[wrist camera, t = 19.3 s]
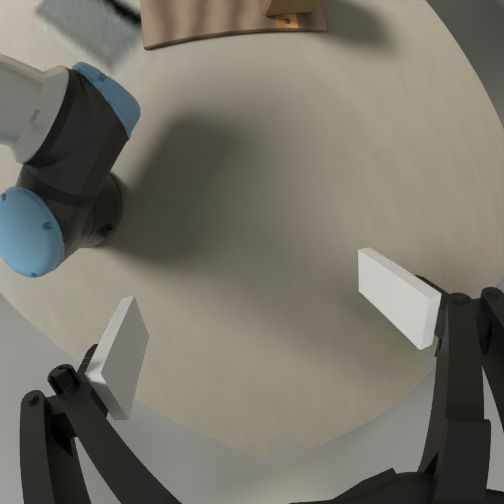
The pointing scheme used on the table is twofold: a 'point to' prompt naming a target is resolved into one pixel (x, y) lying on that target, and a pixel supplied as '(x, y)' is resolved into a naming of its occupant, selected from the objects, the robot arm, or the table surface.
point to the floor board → (217, 20)
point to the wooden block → (287, 6)
